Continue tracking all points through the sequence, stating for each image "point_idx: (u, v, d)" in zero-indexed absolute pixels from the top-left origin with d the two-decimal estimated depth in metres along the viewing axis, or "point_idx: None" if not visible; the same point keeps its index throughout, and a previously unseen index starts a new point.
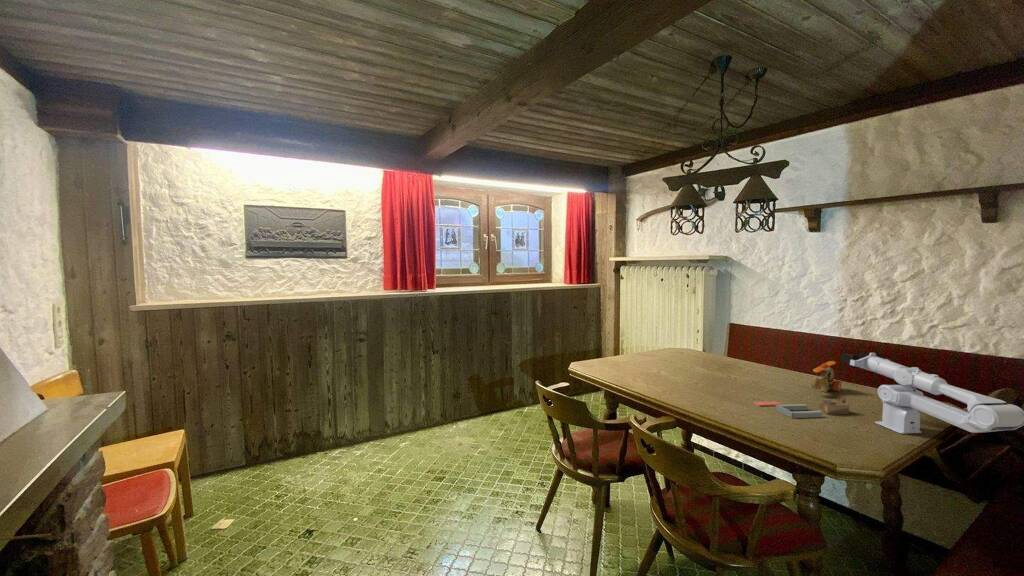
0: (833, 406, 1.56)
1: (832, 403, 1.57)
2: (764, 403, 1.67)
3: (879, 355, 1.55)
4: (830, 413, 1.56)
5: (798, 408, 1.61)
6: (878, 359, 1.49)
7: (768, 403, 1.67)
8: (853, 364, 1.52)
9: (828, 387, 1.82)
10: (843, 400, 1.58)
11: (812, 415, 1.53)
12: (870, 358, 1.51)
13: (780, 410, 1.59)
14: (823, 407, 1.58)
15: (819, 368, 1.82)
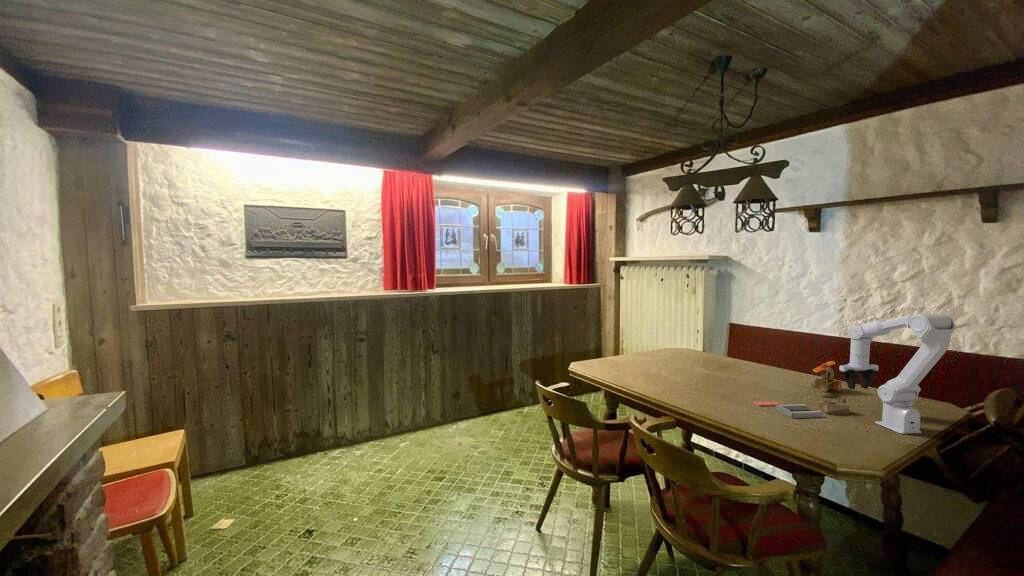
0: (832, 406, 1.56)
1: (832, 403, 1.57)
2: (764, 403, 1.67)
3: None
4: (829, 413, 1.56)
5: (798, 408, 1.61)
6: None
7: (768, 403, 1.67)
8: (842, 367, 1.57)
9: (828, 387, 1.83)
10: (843, 400, 1.58)
11: (812, 415, 1.53)
12: None
13: (780, 410, 1.59)
14: (822, 407, 1.58)
15: (819, 368, 1.82)
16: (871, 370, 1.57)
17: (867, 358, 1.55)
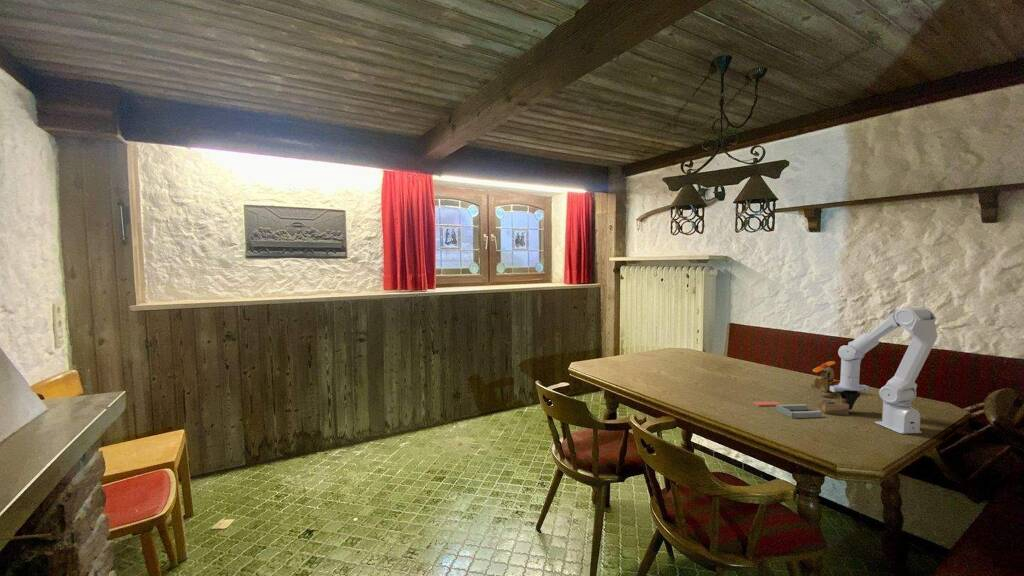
0: (831, 405, 1.56)
1: (831, 403, 1.57)
2: (764, 403, 1.67)
3: None
4: (828, 412, 1.56)
5: (798, 408, 1.61)
6: None
7: (768, 403, 1.67)
8: (832, 387, 1.57)
9: (828, 387, 1.83)
10: (843, 400, 1.57)
11: (812, 415, 1.53)
12: None
13: (780, 410, 1.59)
14: (821, 406, 1.58)
15: (819, 368, 1.82)
16: None
17: (857, 379, 1.55)
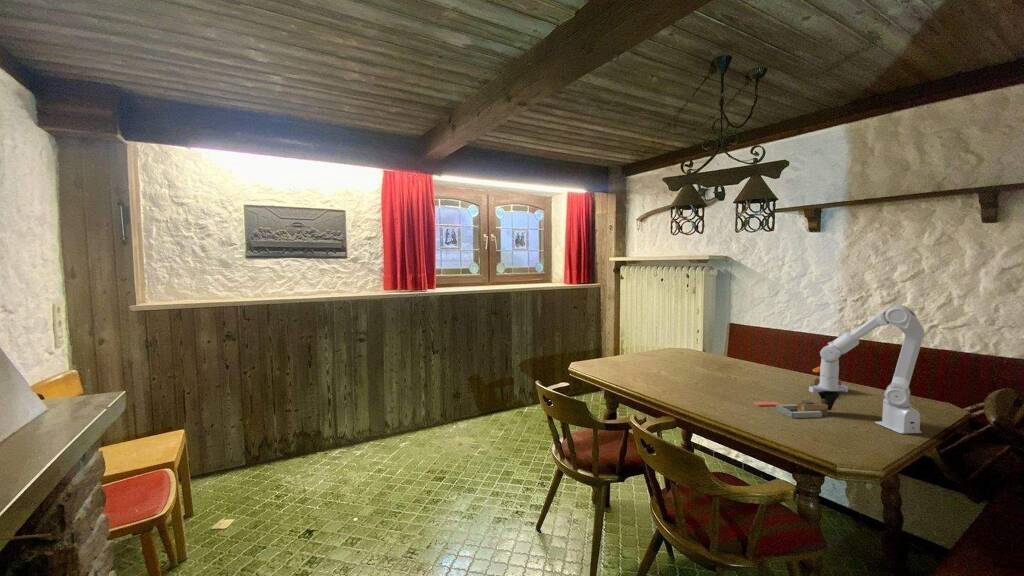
0: (810, 406, 1.56)
1: (810, 403, 1.56)
2: (764, 403, 1.67)
3: None
4: None
5: None
6: None
7: (768, 403, 1.67)
8: (811, 388, 1.57)
9: None
10: (822, 401, 1.57)
11: (812, 415, 1.53)
12: None
13: (780, 410, 1.59)
14: (800, 407, 1.58)
15: (819, 368, 1.82)
16: None
17: (836, 379, 1.54)
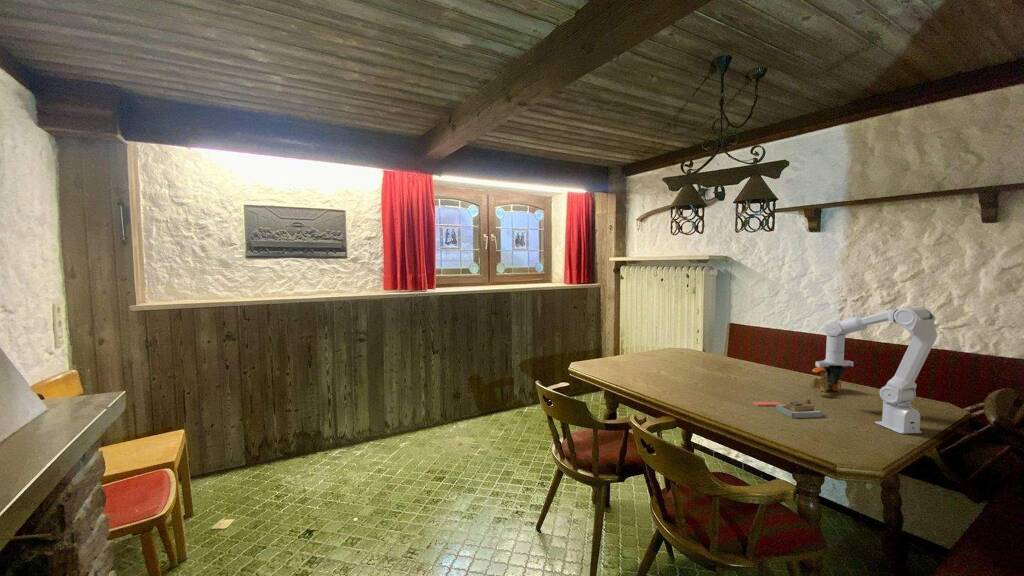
0: (799, 407, 1.55)
1: (798, 404, 1.56)
2: (764, 403, 1.67)
3: None
4: None
5: None
6: None
7: (768, 403, 1.67)
8: (818, 363, 1.61)
9: (827, 387, 1.83)
10: (808, 401, 1.57)
11: (812, 415, 1.53)
12: None
13: (780, 410, 1.59)
14: (790, 409, 1.56)
15: (818, 368, 1.82)
16: None
17: (842, 354, 1.59)
